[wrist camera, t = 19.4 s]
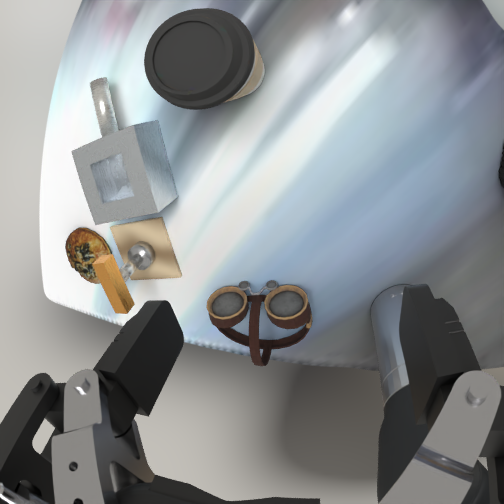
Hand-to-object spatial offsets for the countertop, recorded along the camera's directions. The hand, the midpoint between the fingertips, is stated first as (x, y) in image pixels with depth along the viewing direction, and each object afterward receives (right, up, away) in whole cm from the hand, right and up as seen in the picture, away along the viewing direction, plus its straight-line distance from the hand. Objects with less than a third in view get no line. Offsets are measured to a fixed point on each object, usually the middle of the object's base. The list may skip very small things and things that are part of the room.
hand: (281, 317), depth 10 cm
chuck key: (-18, +2, +35) cm, 39 cm away
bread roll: (-30, +2, +39) cm, 49 cm away
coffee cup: (-3, +23, +21) cm, 31 cm away
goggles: (+1, -8, +37) cm, 38 cm away
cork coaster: (-18, +2, +35) cm, 40 cm away
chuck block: (-18, +17, +27) cm, 37 cm away
